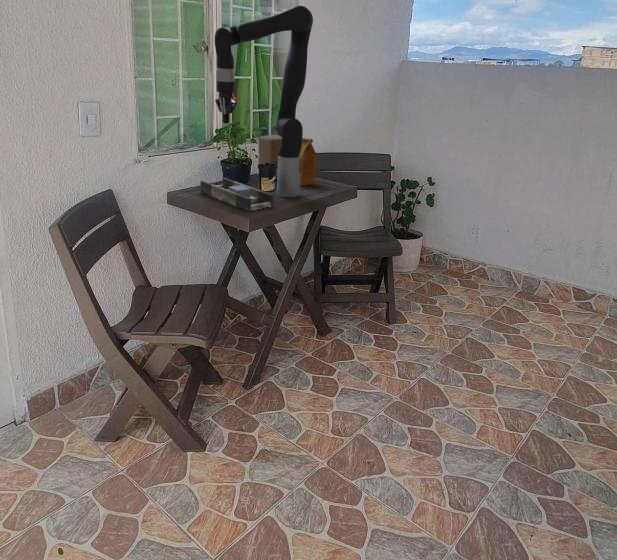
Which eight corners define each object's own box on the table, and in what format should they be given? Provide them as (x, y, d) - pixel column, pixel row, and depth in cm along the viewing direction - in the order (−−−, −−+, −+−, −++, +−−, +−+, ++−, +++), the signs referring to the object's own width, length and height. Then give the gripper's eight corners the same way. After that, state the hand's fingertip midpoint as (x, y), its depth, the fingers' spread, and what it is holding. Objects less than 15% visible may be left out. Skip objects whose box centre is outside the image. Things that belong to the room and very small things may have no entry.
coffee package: (304, 180, 274) (306, 134, 265) (317, 186, 264) (320, 138, 255) (286, 181, 269) (288, 135, 260) (299, 187, 259) (301, 139, 250)
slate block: (241, 194, 235) (241, 185, 233) (249, 198, 230) (250, 189, 228) (228, 196, 232) (228, 186, 230) (237, 200, 226) (237, 190, 225)
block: (257, 177, 275) (257, 136, 267) (272, 174, 281) (273, 134, 273) (270, 181, 268) (271, 139, 260) (286, 178, 275) (287, 137, 267)
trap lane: (224, 188, 251) (224, 177, 249) (273, 206, 227) (273, 194, 225) (200, 192, 243) (200, 181, 241) (248, 211, 219) (248, 199, 217)
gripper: (242, 81, 229) (242, 124, 236) (224, 78, 238) (224, 120, 245) (227, 81, 224) (227, 125, 231) (209, 79, 233) (210, 121, 240)
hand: (226, 123), depth 238 cm, fingers closed
